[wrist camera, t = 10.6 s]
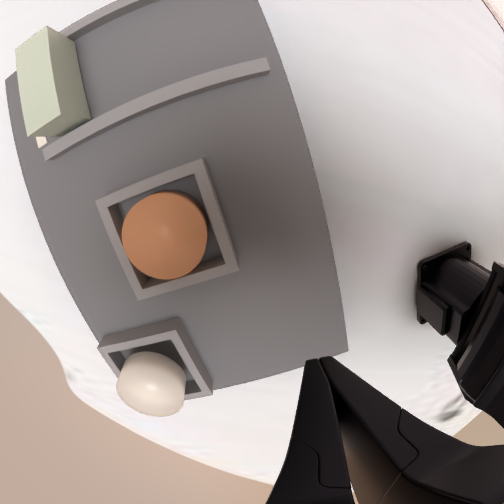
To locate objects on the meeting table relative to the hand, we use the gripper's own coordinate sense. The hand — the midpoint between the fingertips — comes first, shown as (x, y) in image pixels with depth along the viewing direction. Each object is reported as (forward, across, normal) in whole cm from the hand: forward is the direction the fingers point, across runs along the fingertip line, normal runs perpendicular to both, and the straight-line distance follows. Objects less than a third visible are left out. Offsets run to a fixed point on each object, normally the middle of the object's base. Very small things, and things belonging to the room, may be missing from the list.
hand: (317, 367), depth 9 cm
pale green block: (+9, +12, -13) cm, 20 cm away
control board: (+11, +6, -4) cm, 14 cm away
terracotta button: (+9, +6, -3) cm, 11 cm away
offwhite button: (+8, +9, +7) cm, 14 cm away
